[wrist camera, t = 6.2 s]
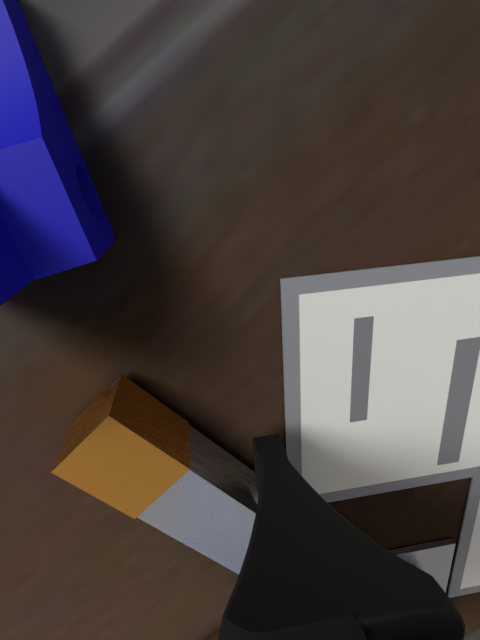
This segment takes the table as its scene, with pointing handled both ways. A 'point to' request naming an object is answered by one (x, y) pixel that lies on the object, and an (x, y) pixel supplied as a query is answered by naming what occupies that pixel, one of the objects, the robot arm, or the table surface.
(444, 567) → the pivot base
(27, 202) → the blue cradle mount
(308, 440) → the label
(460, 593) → the label
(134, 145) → the table surface
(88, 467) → the orange-tipped grey bar
